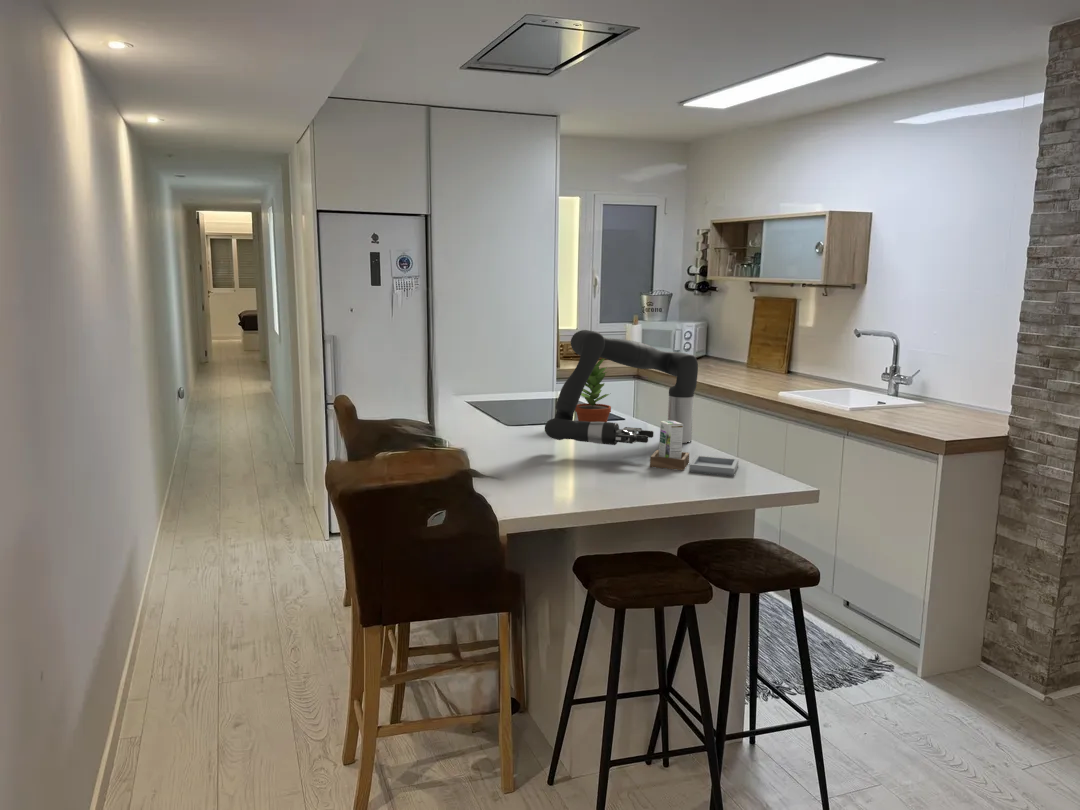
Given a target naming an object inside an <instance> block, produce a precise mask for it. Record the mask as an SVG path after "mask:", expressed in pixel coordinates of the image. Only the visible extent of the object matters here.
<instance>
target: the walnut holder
mask: <svg viewBox="0 0 1080 810" xmlns="http://www.w3.org/2000/svg"><path fill="white" fill-rule="evenodd" d="M649 459H650V460H649V467H650V468H653V467H656V468H655V469H663V468H667V469H666V470H674V469H677V470H676V471H684V470H685V469H686V468H687V466H688V465H689V464H690V452H686V451H682V455H681V459H677V458H666V457H659V449H656V450H655V451H654V452H653V453H652V454H651V456H650V457H649ZM688 463H689V464H688ZM685 467H686V468H685Z"/></svg>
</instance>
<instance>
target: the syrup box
mask: <svg viewBox="0 0 1080 810" xmlns="http://www.w3.org/2000/svg"><path fill="white" fill-rule="evenodd" d="M682 438H683V424H681V423H679V422H676V421H668V420H662V421H660V427H659V445H658V450H659V457H666V458H677V459H681V455H682V452H683V451H682V450H683V443H682Z"/></svg>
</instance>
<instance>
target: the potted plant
mask: <svg viewBox="0 0 1080 810" xmlns="http://www.w3.org/2000/svg"><path fill="white" fill-rule="evenodd" d="M604 361H605V358H601V359H599V360H598V361H597V363H596V365H595V367H594V369H593V371H592V372H591V374H590V376H589V378H588V380H587V382H586V384H585V386H584V387H587V388H588V389H589V390H590V391H591V392H590V391H588V390H587V389H585V388H583V391H582V393H581V396H580V397H583V398H584V399H585V401H586V402H587V403H578V404H577V407H576V409H575V411H574V413H575V412H576V416H577V421H588V422H608V419H609V416H610V413H611V412H612V406H611V405H608V404H603V403H597V402H598V401H600V400H603V399H604V398H606V397H608V396H610V393H608V394H607V393H605V394H603V395H600V394H601V392H602V388H603V387H604V386H605V382H603V383H601V382H602V381H603V380H604V378H605V376H606V374H607V373H608V371H606V369H607V368H608V366H605V367H601V368H600V365H602V363H603V362H604ZM604 371H605V372H604Z"/></svg>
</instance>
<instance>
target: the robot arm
mask: <svg viewBox="0 0 1080 810" xmlns="http://www.w3.org/2000/svg"><path fill="white" fill-rule="evenodd" d="M570 346H571V349H572V351H573V352H574V353H575V354H576V355H578V356H579V360H578V363H577V365H576V366H575V369H574V370H573V372H572V373H571V375H569V376H568V378H567V380H566V381H565V382H564V384H563V385H562V387H561V390H560V392H559V394H558V396H557V400H556V402H555V410H556V412H555V415H554V418H551V419H549V420H547V422H546V423H545V424H544V432H545V434H546V435H547V436H548V438H550V439H552V440H556V441H557V440H558V441H562V440H563V441H564V440H573V441H576V442H577V441H578V442H583V443H584V442H585V443H593V444H598V445H609V446H616V445H617V444H618V443H623V444H634V443H643V444H644V443H645V444H646V443H648V442H649V439H652V438H654V435H655V434H654V431H653V430H646V429H645V430H644V429H643V428H641V427H629V426H625V427H624V428H621V429H620V425H619V423H617V422H611V421H609V422H608V421H607V422H588V421H578V420H574V413H575V409H576V407H577V405H578V404H579V401H580V398H581V397H582V396H581V393H583V389H585V387H586V386H585V384H586V383H587V380H588V378H589V376H590V374H591V372H592V371H593V369H594V367H595V365H596V364H597V363H598V362H599V361H600V358H601V359H604V360H605V359H606V360H608V361H610V362H611V361H612V362H613V363H617V364H619V365H622V366H627V367H630V368H635V369H641V370H656V371H659V372H662V373H665V374H666V375H667V374H668V375H670V376H673V377H676V380H675V381H676V382H675V384H674V385H673V386H671V387H670V388H669V389H668V402H667V403H668V404H667V408H668V409H667V421H676V422H679V423H681V424H683V438H682V444H686V443H687V442H689V441H691V442H692V438H693V435H692V434H693V419H694V415H693V414H694V395H695V391H696V388H697V384H698V372H699V364H698V363H699V362H698V360H697V357H696V356H695V355H694V354H692V353H686V352H681V351H680V352H679V351H665V350H660V349H656V348H655V347H653V346H652V345H649V344H646V343H643V342H639V341H636V340H635V341H634V340H630V339H629V340H628V339H621V338H611V337H605V336H603V334H602V333H600V332H598V331H595V330H587V329H582V330H579V331H577V332H574V334H573V335H572V336H571V339H570ZM689 443H690V442H689ZM687 444H688V443H687Z"/></svg>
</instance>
